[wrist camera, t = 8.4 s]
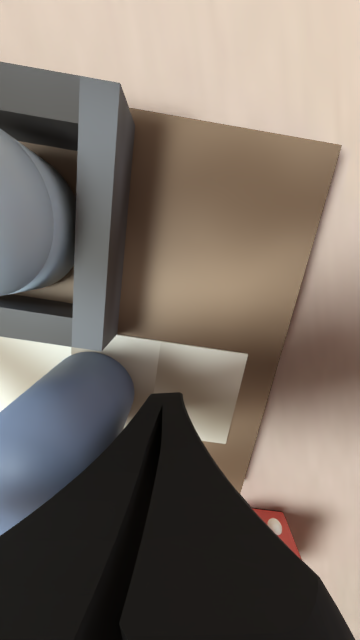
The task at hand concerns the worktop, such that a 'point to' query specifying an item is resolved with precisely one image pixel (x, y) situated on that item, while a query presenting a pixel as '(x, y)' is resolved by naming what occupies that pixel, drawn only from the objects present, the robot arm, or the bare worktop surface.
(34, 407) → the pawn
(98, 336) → the game board
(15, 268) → the dome button
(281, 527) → the red die
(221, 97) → the worktop surface
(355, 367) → the worktop surface
